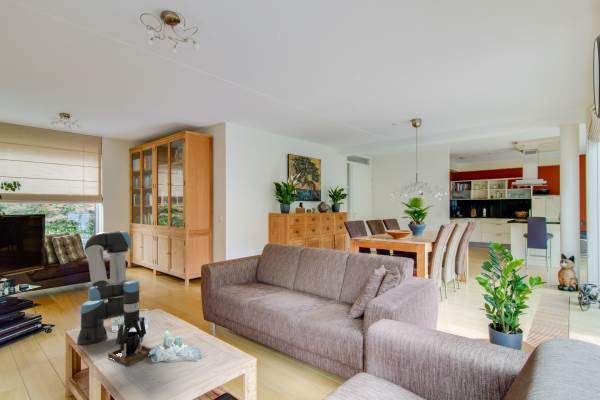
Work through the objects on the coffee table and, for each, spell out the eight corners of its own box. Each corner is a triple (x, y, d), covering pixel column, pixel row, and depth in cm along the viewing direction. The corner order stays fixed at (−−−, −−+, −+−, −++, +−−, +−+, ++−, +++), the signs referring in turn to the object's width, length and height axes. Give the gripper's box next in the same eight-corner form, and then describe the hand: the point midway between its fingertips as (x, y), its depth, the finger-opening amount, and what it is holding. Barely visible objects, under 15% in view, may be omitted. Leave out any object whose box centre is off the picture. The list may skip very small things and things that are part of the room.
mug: (130, 359, 163) (130, 340, 163) (117, 353, 169) (117, 335, 169) (145, 352, 170) (145, 334, 170) (132, 347, 176) (132, 330, 176)
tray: (108, 358, 167) (108, 353, 167) (134, 346, 180) (134, 342, 180) (128, 366, 158) (128, 361, 158) (154, 354, 171) (154, 349, 171)
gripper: (116, 317, 158) (116, 362, 158) (153, 305, 176) (153, 346, 176) (107, 315, 162) (108, 359, 162) (145, 303, 180) (145, 343, 180)
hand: (131, 352), depth 169 cm, fingers closed on mug, 8 cm apart
